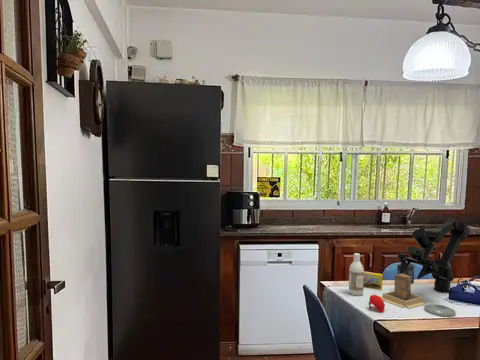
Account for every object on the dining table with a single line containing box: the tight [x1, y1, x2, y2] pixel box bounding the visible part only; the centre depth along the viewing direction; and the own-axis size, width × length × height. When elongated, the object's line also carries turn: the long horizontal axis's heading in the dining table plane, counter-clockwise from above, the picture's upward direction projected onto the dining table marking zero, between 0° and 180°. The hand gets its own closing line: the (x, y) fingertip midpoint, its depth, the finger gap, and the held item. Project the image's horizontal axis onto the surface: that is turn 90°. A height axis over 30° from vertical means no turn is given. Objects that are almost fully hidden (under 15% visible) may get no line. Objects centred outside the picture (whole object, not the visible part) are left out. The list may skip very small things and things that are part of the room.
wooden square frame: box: [379, 290, 427, 309], centre depth 169 cm, size 16×16×2 cm
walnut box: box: [393, 273, 412, 301], centre depth 169 cm, size 5×5×12 cm
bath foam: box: [348, 252, 365, 297], centre depth 178 cm, size 7×7×20 cm
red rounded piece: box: [368, 294, 386, 314], centre depth 157 cm, size 8×6×6 cm
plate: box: [423, 303, 457, 318], centre depth 156 cm, size 12×12×1 cm
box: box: [396, 263, 415, 284], centre depth 198 cm, size 8×6×11 cm
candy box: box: [363, 270, 383, 291], centre depth 189 cm, size 16×2×8 cm, turn 58°
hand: (409, 275), depth 171 cm, fingers open, 9 cm apart
